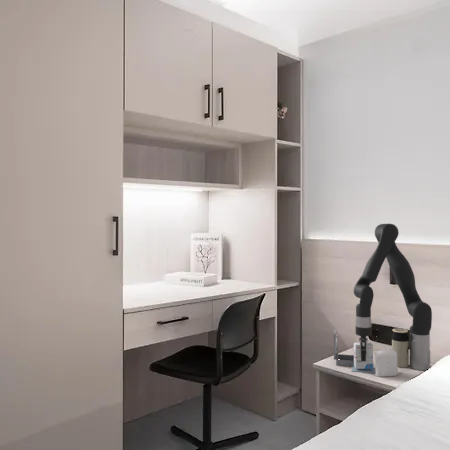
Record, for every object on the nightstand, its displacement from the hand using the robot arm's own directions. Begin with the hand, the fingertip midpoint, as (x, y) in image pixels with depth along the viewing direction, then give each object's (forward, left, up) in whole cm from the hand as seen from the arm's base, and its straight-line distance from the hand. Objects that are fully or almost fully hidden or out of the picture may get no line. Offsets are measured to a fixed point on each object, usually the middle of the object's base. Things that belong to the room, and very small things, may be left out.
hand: (363, 359), depth 234 cm
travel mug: (-18, -12, -6) cm, 22 cm away
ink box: (0, 0, -4) cm, 4 cm away
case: (+6, -9, -5) cm, 12 cm away
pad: (0, 0, -5) cm, 5 cm away
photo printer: (-10, +5, -6) cm, 13 cm away
